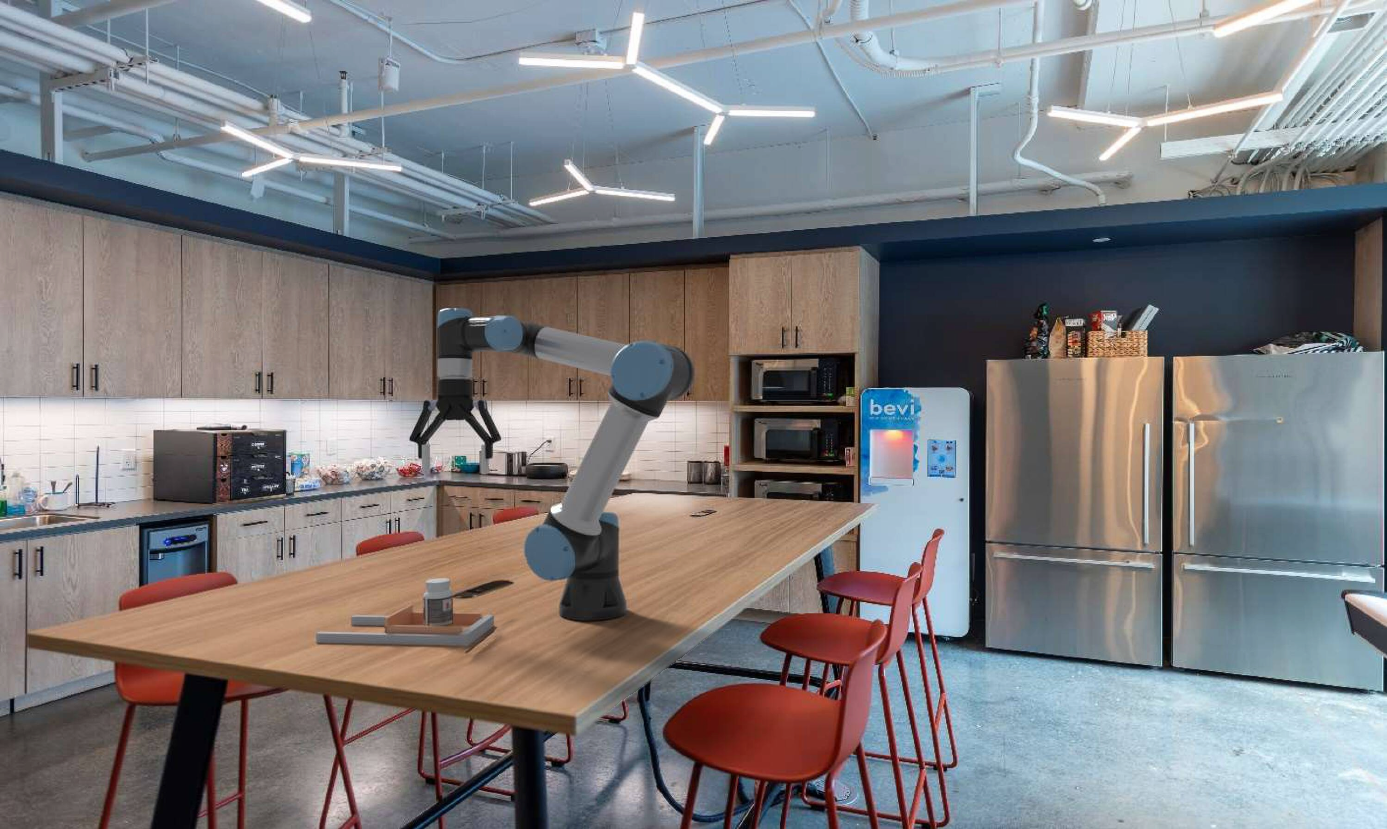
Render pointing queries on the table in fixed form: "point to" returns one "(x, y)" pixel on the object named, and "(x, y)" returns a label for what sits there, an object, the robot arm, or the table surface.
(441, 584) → the pill bottle
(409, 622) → the crate
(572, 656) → the table surface
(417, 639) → the bay
